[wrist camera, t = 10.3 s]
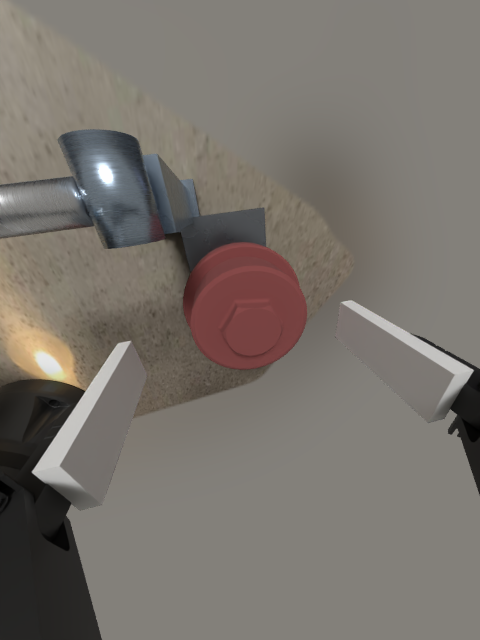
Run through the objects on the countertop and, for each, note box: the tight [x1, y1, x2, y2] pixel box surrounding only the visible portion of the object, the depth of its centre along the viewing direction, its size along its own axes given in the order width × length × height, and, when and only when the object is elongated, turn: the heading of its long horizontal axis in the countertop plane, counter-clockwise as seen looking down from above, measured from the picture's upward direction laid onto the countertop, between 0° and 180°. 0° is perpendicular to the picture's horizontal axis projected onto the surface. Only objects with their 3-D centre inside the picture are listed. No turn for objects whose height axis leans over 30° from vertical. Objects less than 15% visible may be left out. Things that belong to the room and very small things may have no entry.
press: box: [143, 154, 266, 272], centre depth 17 cm, size 11×15×14 cm
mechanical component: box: [183, 242, 307, 370], centre depth 18 cm, size 12×10×10 cm
